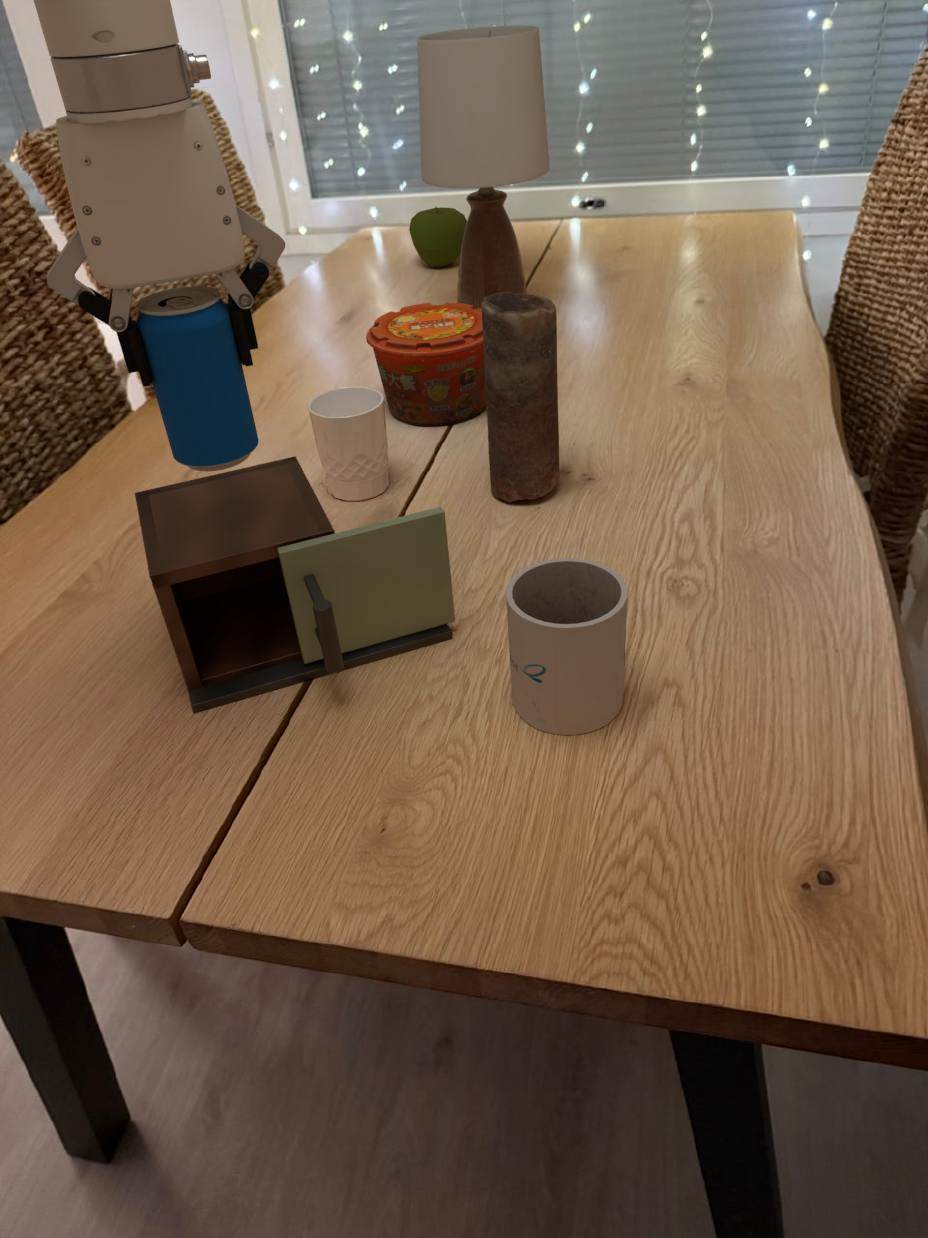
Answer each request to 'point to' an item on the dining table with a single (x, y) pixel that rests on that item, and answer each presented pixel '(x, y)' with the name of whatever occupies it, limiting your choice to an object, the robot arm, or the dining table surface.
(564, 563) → the mug
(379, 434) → the white cup
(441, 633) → the cabinet
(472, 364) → the food container
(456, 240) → the apple
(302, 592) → the door
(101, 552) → the dining table surface
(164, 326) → the beverage can
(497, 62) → the lamp
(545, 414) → the candle
